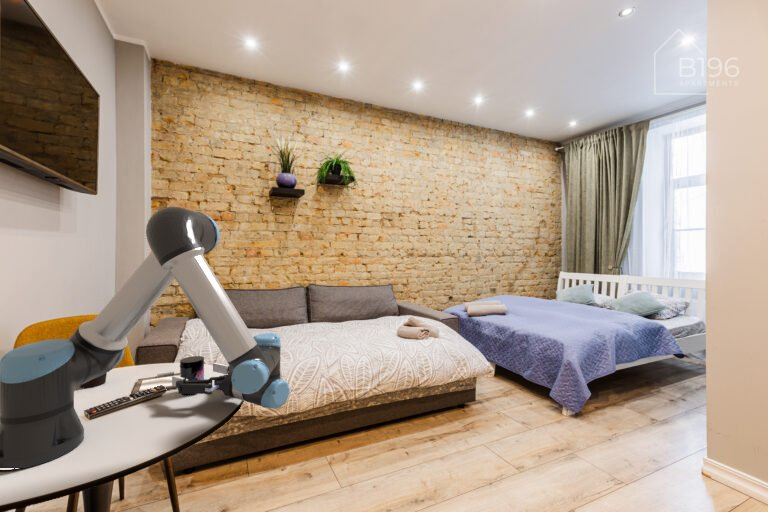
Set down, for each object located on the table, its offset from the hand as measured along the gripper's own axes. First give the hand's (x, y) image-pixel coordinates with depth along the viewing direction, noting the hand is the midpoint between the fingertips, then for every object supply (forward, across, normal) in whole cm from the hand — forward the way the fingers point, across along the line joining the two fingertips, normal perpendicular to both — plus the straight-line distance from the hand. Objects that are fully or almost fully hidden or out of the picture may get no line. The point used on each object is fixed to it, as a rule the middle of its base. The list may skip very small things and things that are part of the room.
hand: (194, 373), depth 109 cm
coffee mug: (+37, -12, -6) cm, 40 cm away
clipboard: (+15, 0, -6) cm, 16 cm away
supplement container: (+1, 0, -6) cm, 6 cm away
